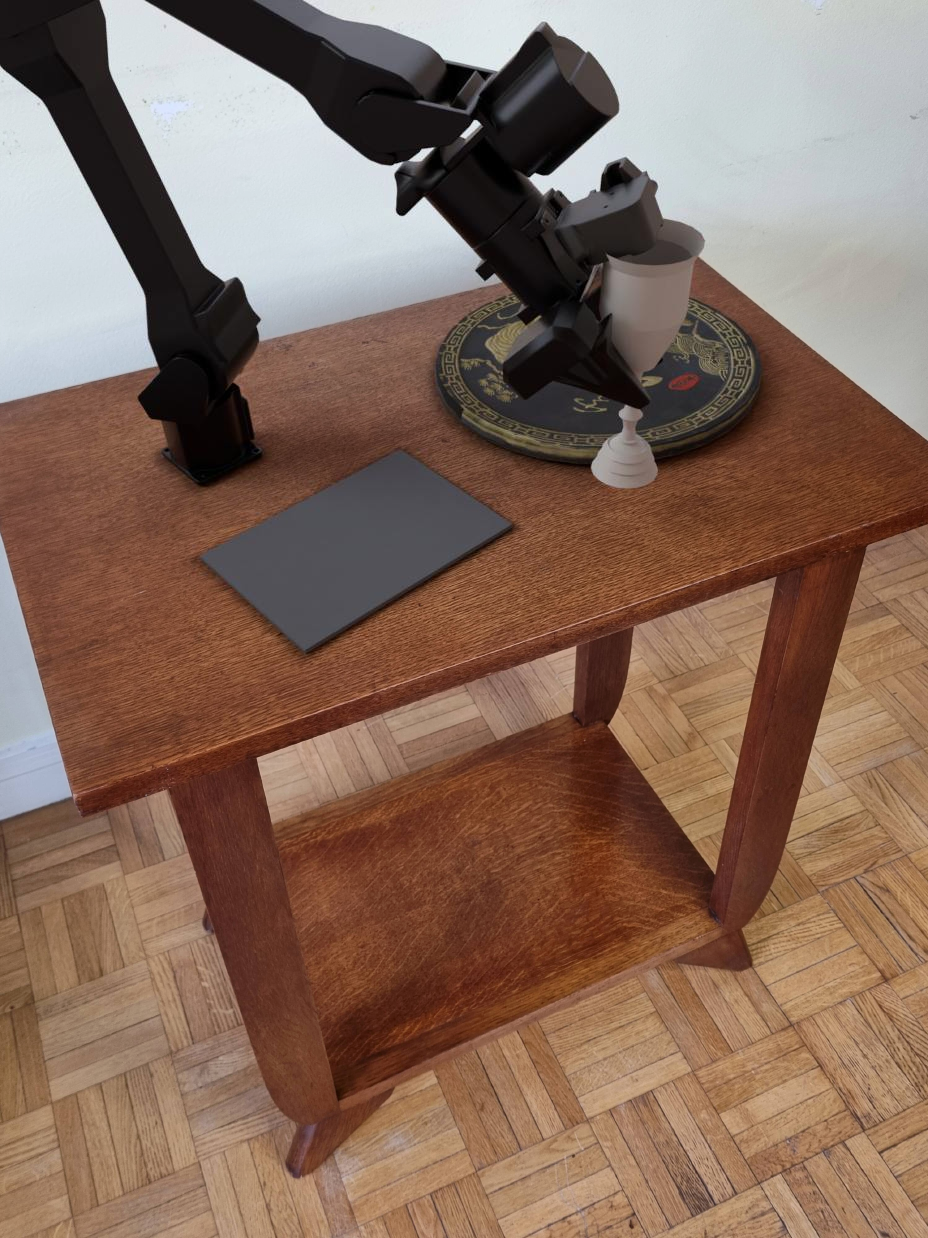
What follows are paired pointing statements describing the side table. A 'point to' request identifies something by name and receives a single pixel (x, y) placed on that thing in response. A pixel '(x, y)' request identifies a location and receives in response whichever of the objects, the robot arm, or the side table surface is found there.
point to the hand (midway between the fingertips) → (652, 383)
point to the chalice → (644, 334)
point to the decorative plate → (582, 421)
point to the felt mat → (353, 548)
